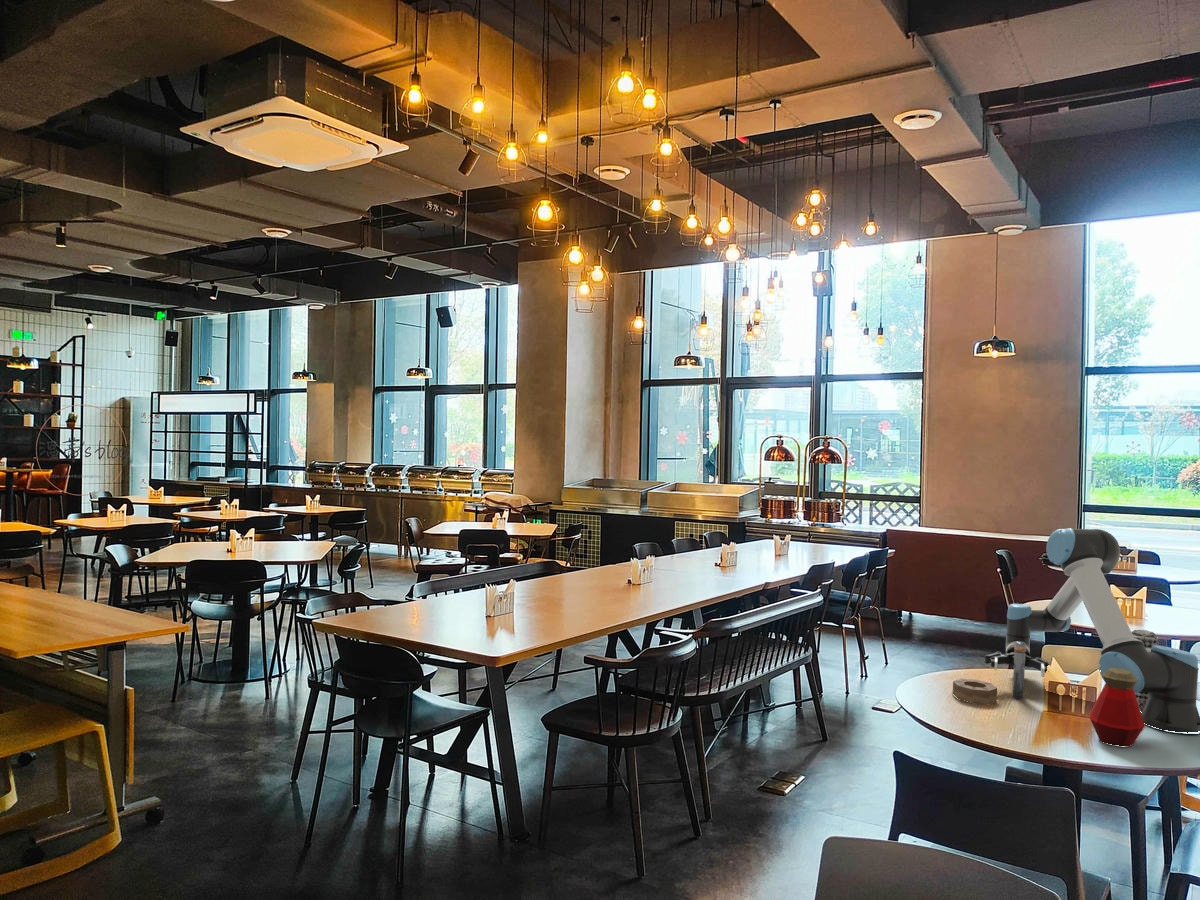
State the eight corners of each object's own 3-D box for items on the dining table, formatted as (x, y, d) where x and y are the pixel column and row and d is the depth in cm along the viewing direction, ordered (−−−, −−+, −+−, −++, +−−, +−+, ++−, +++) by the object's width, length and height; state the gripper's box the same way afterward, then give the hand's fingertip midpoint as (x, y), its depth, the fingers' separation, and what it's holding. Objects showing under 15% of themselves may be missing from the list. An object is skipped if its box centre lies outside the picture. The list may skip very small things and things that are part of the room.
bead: (1000, 705, 263) (1001, 691, 263) (961, 702, 265) (961, 688, 264) (986, 693, 275) (987, 680, 275) (949, 691, 277) (949, 677, 276)
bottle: (1092, 728, 245) (1096, 660, 245) (1147, 740, 236) (1151, 669, 236) (1082, 742, 233) (1086, 670, 232) (1140, 755, 224) (1143, 681, 224)
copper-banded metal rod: (1025, 699, 271) (1027, 644, 270) (1014, 698, 271) (1017, 643, 271) (1021, 696, 274) (1023, 641, 274) (1010, 695, 274) (1013, 641, 274)
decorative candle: (1147, 706, 268) (1150, 628, 268) (1163, 715, 259) (1167, 635, 259) (1116, 704, 269) (1120, 627, 269) (1132, 713, 260) (1136, 633, 260)
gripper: (1058, 671, 284) (1062, 687, 264) (977, 660, 294) (976, 674, 275) (1059, 649, 283) (1064, 663, 264) (978, 639, 294) (977, 652, 275)
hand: (1019, 669), depth 270 cm, fingers open, 13 cm apart
